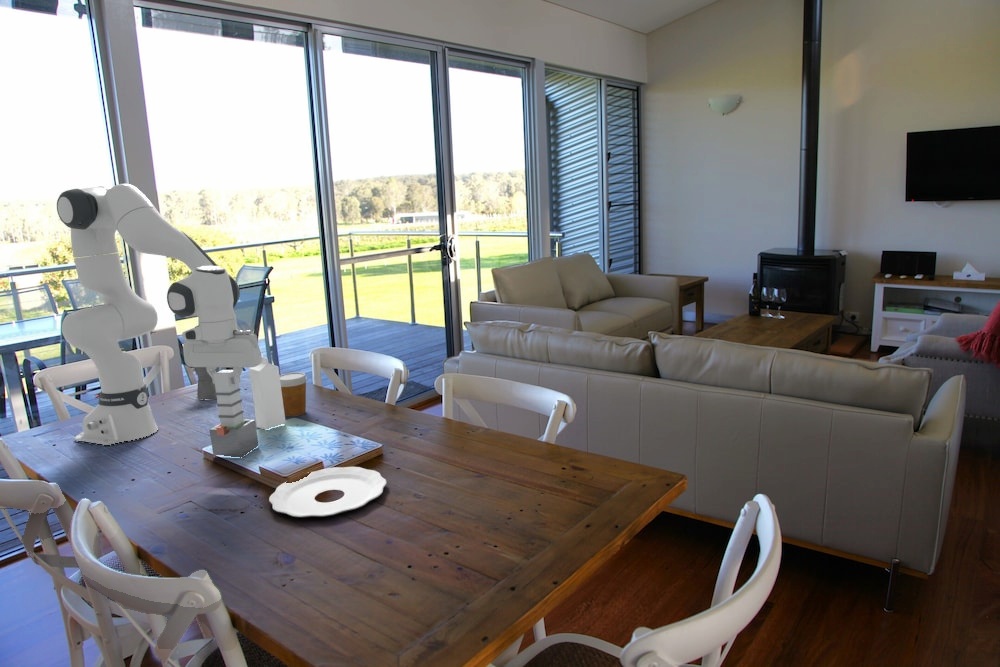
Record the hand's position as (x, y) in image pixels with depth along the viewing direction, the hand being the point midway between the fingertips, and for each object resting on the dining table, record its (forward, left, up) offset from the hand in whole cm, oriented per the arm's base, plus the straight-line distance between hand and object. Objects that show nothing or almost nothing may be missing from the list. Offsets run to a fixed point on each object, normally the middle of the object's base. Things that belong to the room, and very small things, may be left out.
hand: (226, 383), depth 175 cm
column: (0, 0, -13) cm, 13 cm away
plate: (+36, -19, -20) cm, 46 cm away
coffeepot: (-43, +51, -20) cm, 70 cm away
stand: (0, 0, -20) cm, 20 cm away
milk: (-2, +20, -20) cm, 29 cm away
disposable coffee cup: (-3, +35, -20) cm, 40 cm away
